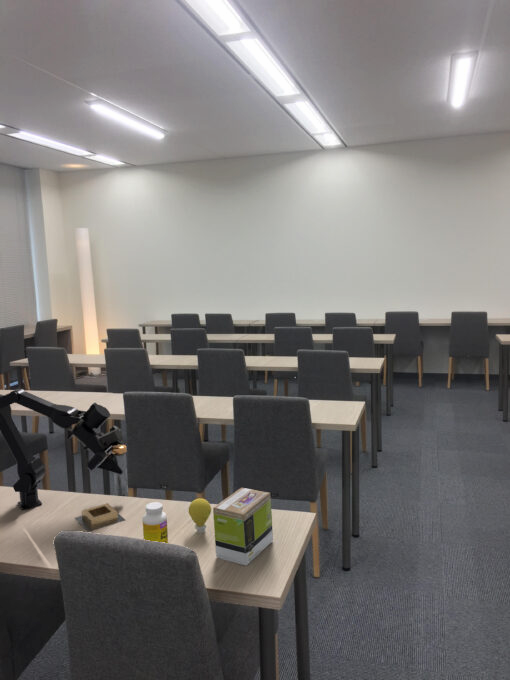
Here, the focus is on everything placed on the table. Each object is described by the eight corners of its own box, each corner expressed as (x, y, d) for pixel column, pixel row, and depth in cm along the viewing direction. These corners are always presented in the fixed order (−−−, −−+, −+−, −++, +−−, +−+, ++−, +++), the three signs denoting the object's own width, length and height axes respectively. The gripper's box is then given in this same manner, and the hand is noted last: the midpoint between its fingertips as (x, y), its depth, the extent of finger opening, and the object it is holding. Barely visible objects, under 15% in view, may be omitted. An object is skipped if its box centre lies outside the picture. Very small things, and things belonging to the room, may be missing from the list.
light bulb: (202, 523, 168) (201, 492, 167) (216, 530, 163) (215, 498, 162) (185, 531, 163) (183, 499, 162) (199, 539, 159) (197, 506, 157)
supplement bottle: (163, 556, 150) (160, 511, 148) (140, 554, 151) (137, 510, 149) (171, 544, 156) (169, 501, 154) (149, 542, 158) (147, 499, 156)
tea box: (243, 534, 161) (241, 485, 159) (273, 541, 156) (272, 492, 154) (214, 558, 148) (212, 506, 146) (246, 567, 143) (244, 513, 141)
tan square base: (74, 520, 173) (73, 510, 173) (111, 509, 180) (110, 499, 180) (88, 534, 163) (87, 524, 163) (126, 522, 170) (125, 512, 170)
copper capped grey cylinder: (111, 493, 181) (108, 447, 179) (122, 488, 185) (119, 443, 183) (121, 496, 178) (118, 450, 176) (132, 491, 182) (129, 446, 180)
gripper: (93, 429, 170) (130, 464, 170) (115, 413, 188) (148, 444, 188) (71, 453, 172) (107, 488, 172) (95, 435, 190) (127, 466, 190)
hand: (124, 470), depth 181 cm, fingers closed on copper capped grey cylinder, 4 cm apart
